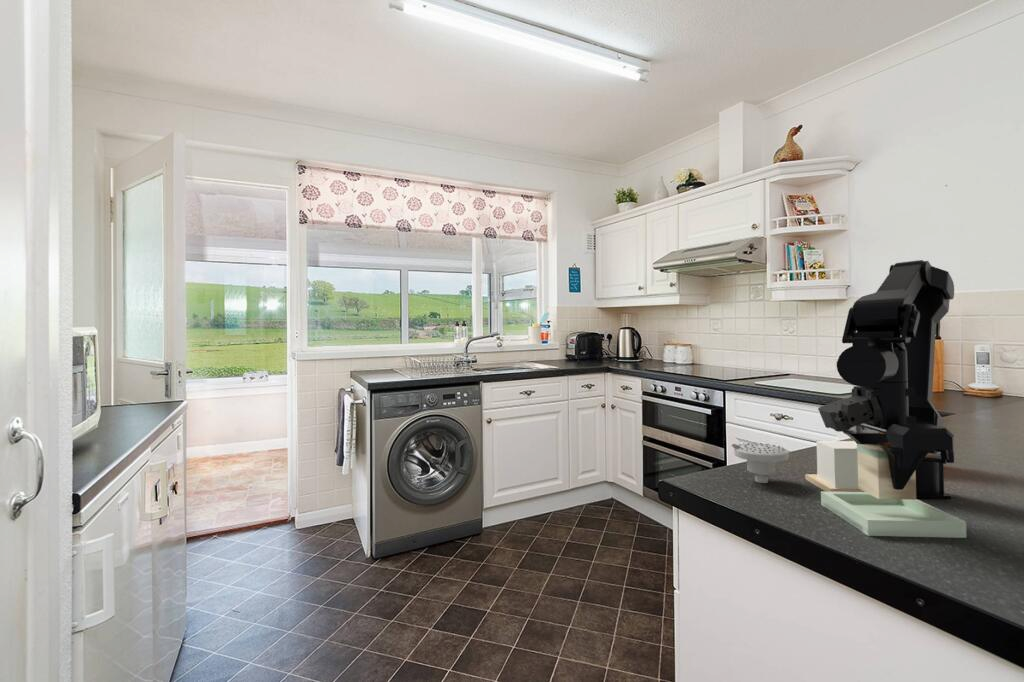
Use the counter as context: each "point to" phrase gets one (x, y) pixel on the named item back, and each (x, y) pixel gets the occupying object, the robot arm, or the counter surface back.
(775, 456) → the showerhead
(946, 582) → the counter surface
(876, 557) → the counter surface
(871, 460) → the block
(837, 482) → the butter dish
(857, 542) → the counter surface
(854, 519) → the parts tray
